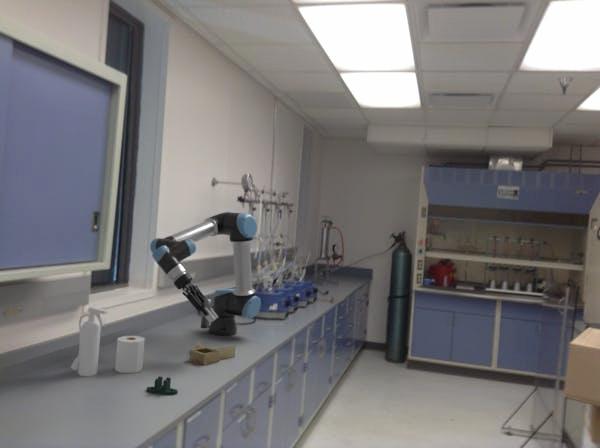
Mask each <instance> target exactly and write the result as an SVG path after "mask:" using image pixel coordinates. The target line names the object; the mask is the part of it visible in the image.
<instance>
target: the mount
mask: <svg viewBox="0 0 600 448" xmlns="http://www.w3.org/2000/svg"><path fill="white" fill-rule="evenodd" d="M171 382H172V378H171V377H166V378H165V379H164V380H163V376H158V377H157V378H155V380H154V386H147V387H146V392H147V393H150V394H155V395H161V396H162V395H163V396H176V395H178V393H179V392H178V391H179V390H178V389H175V388H172V387H171ZM175 394H176V395H175Z"/></svg>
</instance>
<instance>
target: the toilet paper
mask: <svg viewBox="0 0 600 448" xmlns="http://www.w3.org/2000/svg"><path fill="white" fill-rule="evenodd" d="M145 340H146V339H145V337H143V336H140V335H139V336H138V335H123V336H119V337H118V338H117V341H116V343H117V344H116V354H115V367H114V370H115V371H116V372H117V373H121V374H122V373H123V374H134V373H139V372H142V371H143V367H144V366H143V365H144V354H145Z"/></svg>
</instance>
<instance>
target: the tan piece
mask: <svg viewBox="0 0 600 448" xmlns="http://www.w3.org/2000/svg"><path fill="white" fill-rule="evenodd" d="M235 357H236V346H228V347H227V346H226V347H219V348H211V347H207V346H203V345H202V343H201V342H200V341H196V342H195V348H194V349H193V348H192V349H190V350H189V361H190V362H192V363H196V364H197V365H202V366H207V365H211V364H215V363H216V364H217V363H219V362H220V360H224V359H232V358H235Z"/></svg>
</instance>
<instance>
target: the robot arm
mask: <svg viewBox="0 0 600 448" xmlns="http://www.w3.org/2000/svg"><path fill="white" fill-rule="evenodd" d="M257 231H258V224H257V221H256V219H255V217H253V215H251V214H249V213H245V212H244V213H243V212H231V211H227V212H226V211H225V212H222V213H218V214H215V215H212V216H210V217H208V218H205V219H204V221H203V222H200V223H197V224H195V225H193V226H191V227H188V228H185V229H184V230H181V231H178V232H175V233H174V234H172V235H169V236H166V237H163V238H161V237H159V238H158V237H157V238H154V239H152V241H151V242H150V245H149V247H150V248H149V249H150V251H151V253H152V258H153V260H154V261H155V262H156V264H157V265H158V266H159V268H160V269H161V270H162V272H164V274H165V275H166V276H167V279H168V280H170V281H171V282H172V283H173V285H174V286H175V287H176V288H177V290H182V291H183V292H182V295H183V296H184V297H185V298H186V299H187V300H188V302H190V304H191V305H192V306H193V308H195V310H196V311H197V312H198V313H200V312H201V315H202V314H203V315H204V316H205V317H206V319H207V320H208V321H209V322H210V323H209V328H207V331H208V333H209V334H212V335H217V336H219V335H220V336H232V335H233V336H234V335H236V334H237V333H238V326H237V323H236V318H235V317H236V316H237V317H240V318H244V319H252V318H255V317H256V315H258V314H259V312H260V310H261V307H262V306H261V305H262V303H261V298H260V297H259V296H257V295H256V290H255V289H254V288H253V276H252V272H253V271H252V256H251V255H252V254H251V242H252V241H253V240H254V237H255V236H256V234H257ZM218 235H222V236H223V235H226V236H229V242H230V243H231V244H232V248H233V265H234V284H235V288H219V289H218V288H217V289H216V290H215V292H214V296H213V306H212V307H213V308H212V307H211V310H210V311H209V310H208V309H207V308H206V307H205V308H204V305H203V304H202V303H203V299H207V298H206V297H205V295H204V294H203V292H202V290H201V289H200V288H199V286H198V285H194V284H193V283H192V280H193V277H192V276H191V275H190V273H189V272H187V269H186V268H185V267H184V266H183V265H182V263H181V262H182V261H184V260H185V259H187V258H189V257H191V256H192V255H193V254H195V253H196V251H197V246H196V242H199V241H201V240H203V239H206V238H208V237H216V236H218Z"/></svg>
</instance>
